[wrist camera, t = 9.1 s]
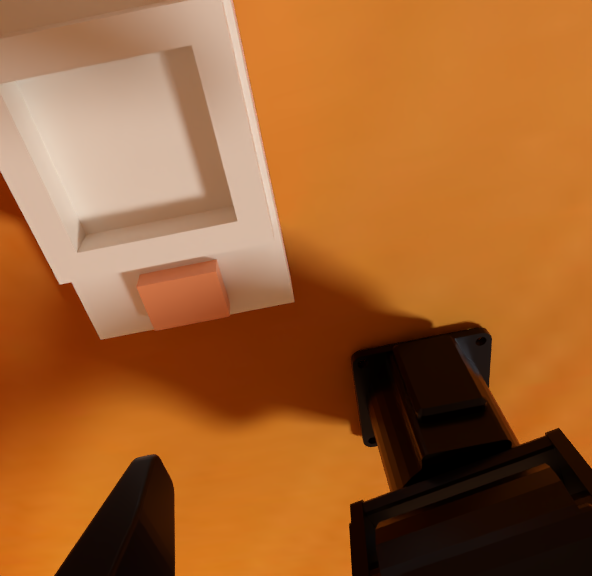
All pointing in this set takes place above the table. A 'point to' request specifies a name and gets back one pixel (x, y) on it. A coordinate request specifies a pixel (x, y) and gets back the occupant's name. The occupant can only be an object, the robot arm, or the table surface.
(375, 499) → the robot arm
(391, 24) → the table surface
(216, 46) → the power strip
